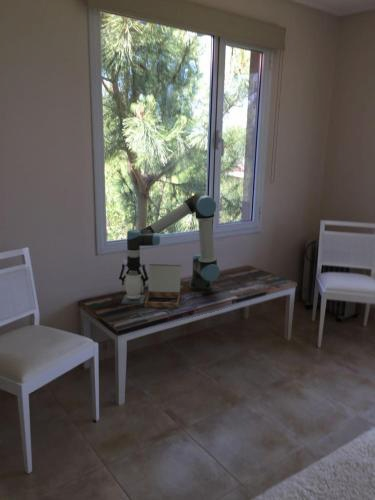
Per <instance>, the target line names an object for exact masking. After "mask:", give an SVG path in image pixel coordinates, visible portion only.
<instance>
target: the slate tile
mask: <svg viewBox="0 0 375 500" xmlns="http://www.w3.org/2000/svg"><path fill="white" fill-rule="evenodd" d="M127 295H128V294H124V296H123V298H122V300H121V303H120V304H121V305H141V306H143V305H144V304H145V300H146V297H147V294H145V295H144V294H140V295H141V296H140V297H139V298H136V299H130V298H128V297H127Z"/></svg>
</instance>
